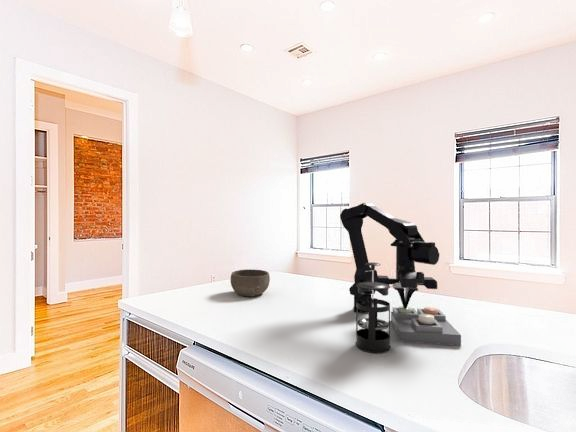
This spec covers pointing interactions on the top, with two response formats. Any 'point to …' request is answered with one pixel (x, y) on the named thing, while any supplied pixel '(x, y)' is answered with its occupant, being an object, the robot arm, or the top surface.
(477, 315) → the top surface
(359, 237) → the robot arm
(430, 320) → the cream button
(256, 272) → the bowl
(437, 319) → the console
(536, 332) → the top surface
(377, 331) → the french press
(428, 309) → the terracotta button
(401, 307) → the sage button
